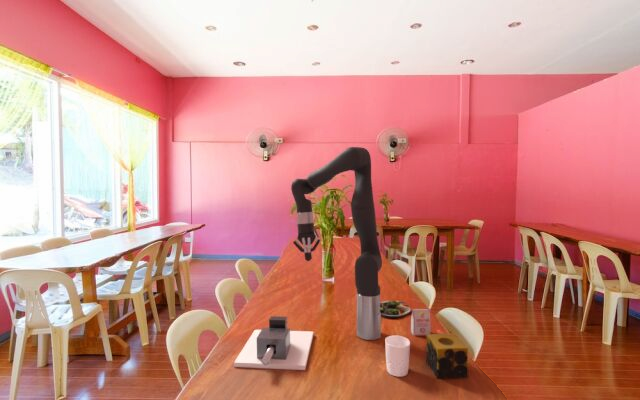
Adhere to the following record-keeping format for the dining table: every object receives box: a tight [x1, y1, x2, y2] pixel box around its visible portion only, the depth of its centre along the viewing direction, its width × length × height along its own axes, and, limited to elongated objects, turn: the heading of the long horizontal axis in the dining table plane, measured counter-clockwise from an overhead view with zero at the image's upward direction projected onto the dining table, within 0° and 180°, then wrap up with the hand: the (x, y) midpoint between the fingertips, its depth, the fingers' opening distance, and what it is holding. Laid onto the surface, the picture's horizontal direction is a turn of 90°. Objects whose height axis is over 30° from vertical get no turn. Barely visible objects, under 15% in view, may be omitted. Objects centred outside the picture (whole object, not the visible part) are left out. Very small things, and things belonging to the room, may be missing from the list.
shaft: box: [262, 315, 288, 365], centre depth 113 cm, size 6×20×9 cm, turn 175°
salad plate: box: [380, 300, 412, 320], centre depth 156 cm, size 19×18×5 cm
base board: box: [233, 329, 314, 371], centre depth 120 cm, size 24×24×2 cm
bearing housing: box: [257, 327, 291, 360], centre depth 115 cm, size 10×8×7 cm
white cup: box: [384, 334, 411, 378], centre depth 106 cm, size 8×8×10 cm
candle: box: [425, 332, 469, 380], centre depth 106 cm, size 10×10×10 cm
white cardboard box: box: [410, 308, 432, 337], centre depth 131 cm, size 4×7×10 cm, turn 90°
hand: (308, 260), depth 147 cm, fingers closed
